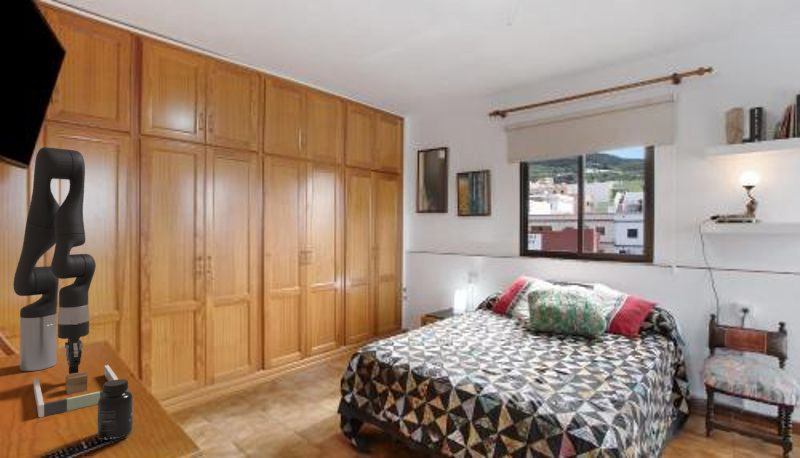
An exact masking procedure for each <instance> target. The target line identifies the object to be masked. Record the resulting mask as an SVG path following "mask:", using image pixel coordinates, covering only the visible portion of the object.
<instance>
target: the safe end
mask: <svg viewBox="0 0 800 458" xmlns="http://www.w3.org/2000/svg"><path fill="white" fill-rule="evenodd" d="M99 398H100V392H99V391H95V392H90V393H85V394H80V395H76V396H71V397H67V411H66V412H70V411H75V410H77V409H78V410H79V409H83V408H87V407H91V406H96V405H98V400H99Z"/></svg>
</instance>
